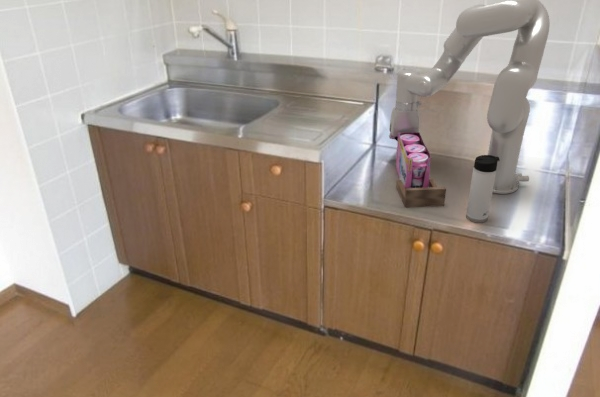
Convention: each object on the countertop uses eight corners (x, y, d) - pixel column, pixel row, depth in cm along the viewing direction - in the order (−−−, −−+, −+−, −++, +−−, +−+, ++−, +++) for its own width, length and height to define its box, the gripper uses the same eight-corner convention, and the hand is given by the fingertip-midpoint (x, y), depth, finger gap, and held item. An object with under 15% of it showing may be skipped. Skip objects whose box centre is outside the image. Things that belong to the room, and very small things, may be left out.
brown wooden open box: (432, 185, 169) (433, 169, 166) (443, 205, 157) (446, 188, 154) (396, 186, 169) (397, 171, 166) (405, 207, 157) (406, 190, 154)
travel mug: (489, 223, 147) (501, 162, 137) (466, 222, 148) (476, 161, 138) (487, 213, 152) (498, 153, 143) (464, 211, 153) (474, 152, 144)
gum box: (428, 197, 162) (433, 159, 156) (404, 197, 163) (407, 159, 156) (416, 166, 183) (420, 131, 177) (395, 166, 184) (397, 132, 177)
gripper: (424, 101, 179) (419, 148, 188) (383, 102, 179) (380, 149, 188) (429, 107, 173) (424, 156, 182) (387, 109, 173) (384, 157, 181)
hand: (402, 152), depth 185 cm, fingers closed
